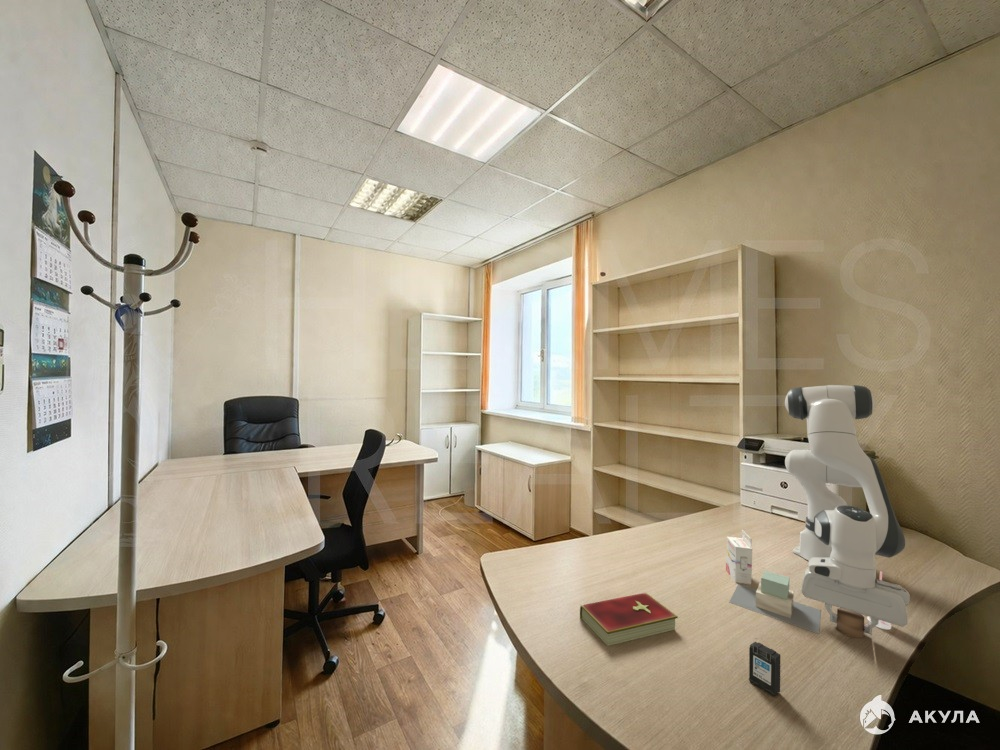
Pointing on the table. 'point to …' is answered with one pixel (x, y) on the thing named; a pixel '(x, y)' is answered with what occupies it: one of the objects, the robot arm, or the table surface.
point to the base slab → (775, 603)
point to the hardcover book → (627, 618)
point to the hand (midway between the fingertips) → (850, 626)
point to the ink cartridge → (764, 668)
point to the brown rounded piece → (850, 623)
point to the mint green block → (775, 585)
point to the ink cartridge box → (739, 558)
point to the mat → (800, 614)
